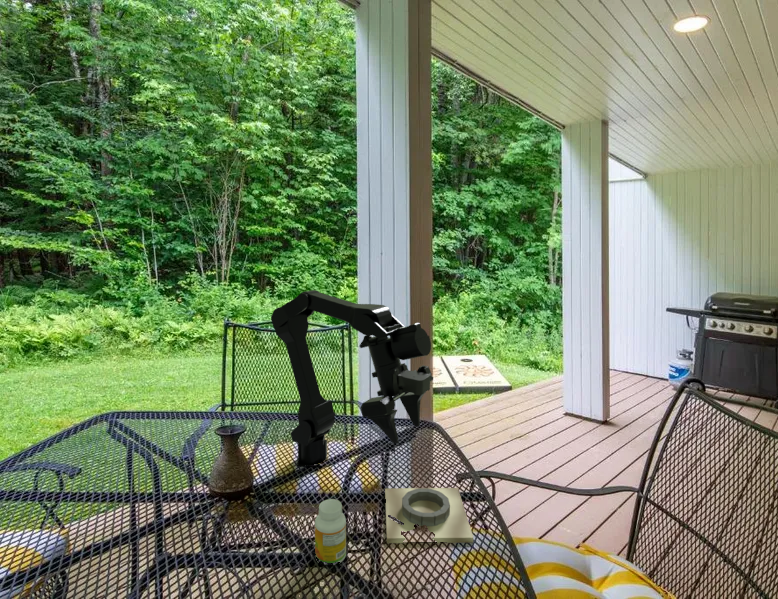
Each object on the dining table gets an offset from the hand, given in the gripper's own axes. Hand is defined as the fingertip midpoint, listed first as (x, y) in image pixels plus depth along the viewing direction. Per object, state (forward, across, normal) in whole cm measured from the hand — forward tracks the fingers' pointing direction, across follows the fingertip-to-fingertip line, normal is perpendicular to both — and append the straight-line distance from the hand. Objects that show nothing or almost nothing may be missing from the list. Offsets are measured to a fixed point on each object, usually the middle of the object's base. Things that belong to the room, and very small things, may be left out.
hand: (407, 434), depth 95 cm
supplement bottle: (+13, -23, +7) cm, 27 cm away
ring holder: (+16, -4, -2) cm, 16 cm away
